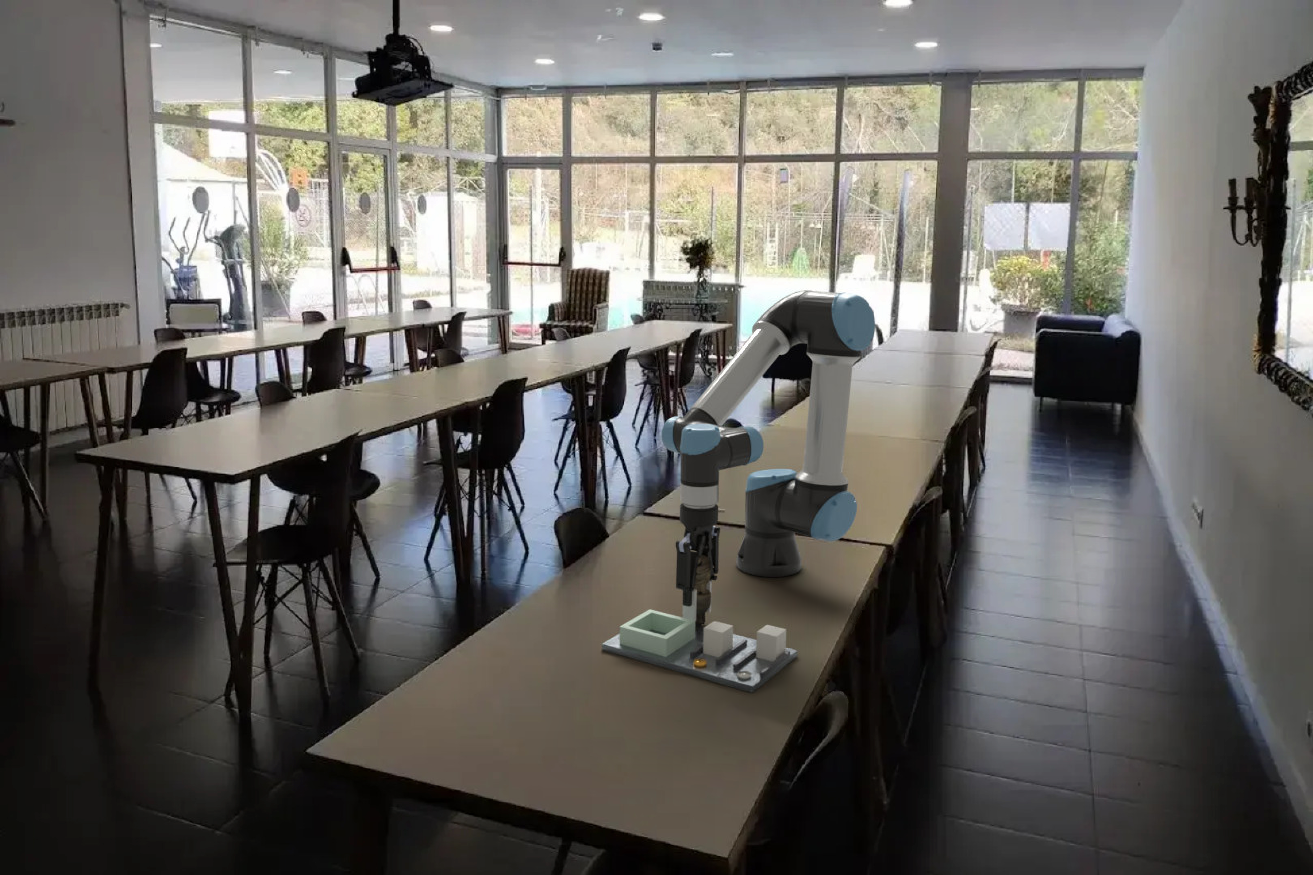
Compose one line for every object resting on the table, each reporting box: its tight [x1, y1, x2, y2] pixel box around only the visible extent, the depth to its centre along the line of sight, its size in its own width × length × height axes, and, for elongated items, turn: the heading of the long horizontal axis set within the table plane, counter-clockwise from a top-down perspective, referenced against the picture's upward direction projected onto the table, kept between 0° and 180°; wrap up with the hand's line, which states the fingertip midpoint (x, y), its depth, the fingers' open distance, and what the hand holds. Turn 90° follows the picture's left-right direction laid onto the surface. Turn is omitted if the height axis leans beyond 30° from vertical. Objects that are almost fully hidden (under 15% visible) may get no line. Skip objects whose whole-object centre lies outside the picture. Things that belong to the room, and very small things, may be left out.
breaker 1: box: [703, 620, 734, 657], centre depth 189 cm, size 4×4×5 cm
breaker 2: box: [756, 624, 787, 661], centre depth 188 cm, size 4×4×5 cm
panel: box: [601, 624, 798, 694], centre depth 192 cm, size 18×32×2 cm, turn 57°
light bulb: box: [694, 555, 712, 626], centre depth 203 cm, size 6×6×15 cm
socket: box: [619, 609, 695, 657], centre depth 194 cm, size 10×10×4 cm
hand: (696, 614), depth 204 cm, fingers closed on light bulb, 5 cm apart
